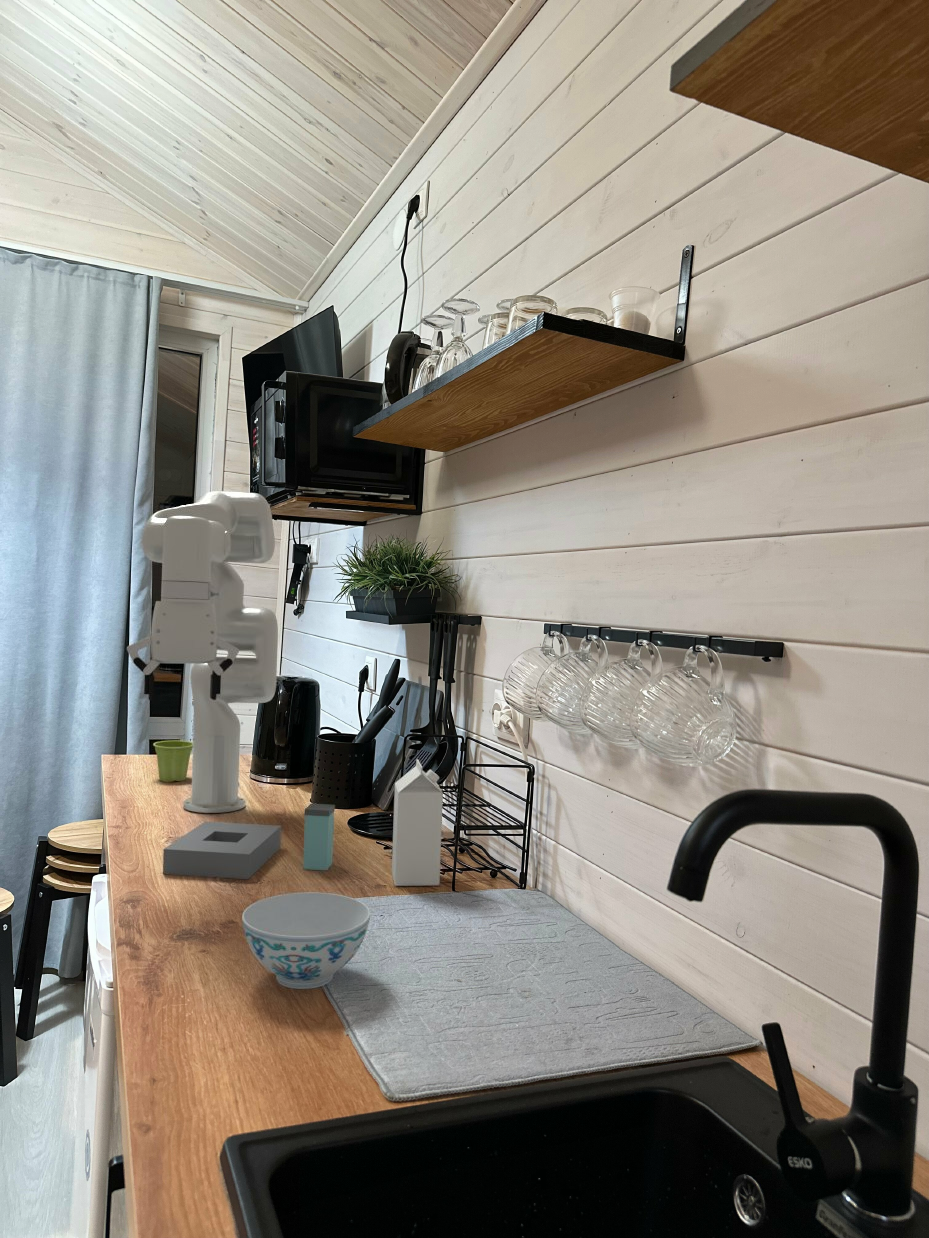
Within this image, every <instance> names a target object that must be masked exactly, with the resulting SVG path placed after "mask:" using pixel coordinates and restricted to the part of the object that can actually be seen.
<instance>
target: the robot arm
mask: <svg viewBox="0 0 929 1238" xmlns="http://www.w3.org/2000/svg"><path fill="white" fill-rule="evenodd" d="M274 531H275V530H274V523H273V516H272V510H271V507H270V505H269V503H268V501H267V499H266V498H265V497H264V496H263V495H262V494H260V493H256V492H243V491H242V492H240V491H227V490H226V491H225V490H224V491H223V490H215V491H209V492H206V493H204V494H203V495H201V496H200V497H199V498H198V499H197V501H196V502H194V503H191V504H186V505H180V506H176V507H171V508H166V509H162V510H158V511H156V512H155V513H153V514H152V515H151V516H150V517H149V518H148V520H147V521H146V523H145V524H144V527H143V529H142V533H141V547H142V551H143V554H144V555H145V556H146V558H147V559H148V560H150V561H151V562H154V563H161V564H162V565H161V566H162V567H161V587H160V588H161V589H160V590H161V591H160V593H161V594H160V597H161V598H160V600H156V601H155V604H154V608H153V614H152V619H151V620H152V622H151V632H150V636H148V637H144V638H143V639H141V640H138V641H136V642H134V643H131V644H130V645H128V646H127V647H126V650H127V653H128V654H129V657H130V659H131V660H132V663H133V664H134V665H135V666H136V667H137V668H138V669H139V670H140V671H141V672H142V673H143V674H144V681H143V682H144V684H143V685H144V689H143V691H144V692H143V695H148V697H147V698H148V700H149V701H153V700H154V698H155V675H154V671H155V669H156V668H157V667H159V665H160V664H189V665H190V664H193V665H192V667H191V669H190V688H191V694H192V695H191V696H192V702H193V705H192V706H193V733H192V734H193V735H192V742H193V748H192V765H191V766H192V768H191V769H192V770H191V797H190V798H189V797H188V798H187V799H185V800H184V801H183V805H182V807H183V808H184V810H186V811H190V812H192V813H193V812H194V813H202V814H219V813H220V814H221V813H222V814H223V813H229V812H235V811H238V810H241V809H244V808H245V807H246V799H245V798H243V797H241V796H239V788H240V785H241V784H240V782H239V778H240V776H239V775H240V774H239V773H240V748H241V747H240V746H241V743H240V742H241V723H240V719H239V717H238V716H237V714H236V713H235V712H234V710H233V709H232V707H230V705H229V704H236V703H238V704H239V703H240V704H264V703H268V702H270V701H272V700H273V698H274V696H275V693H276V690H277V689H276V688H277V677H278V675H277V673H278V671H277V669H278V649H279V648H278V647H279V646H278V642H279V641H278V640H279V625H278V620H277V616H276V614H275V612H274V611H273V610H271V609H270V608H267V607H263V606H261V607H260V606H245V604H244V596H245V593H244V592H245V584H244V581H243V579H242V578H241V576H240V575H239V574H238V572H237V570H236V569H235V568H234V567H233V566H232V565H231V564H230V563H240V564H243V563H244V564H264V563H268V562H269V561H270V560H271V559H272V558H273V556H274V553H275V547H276V546H275V545H276V537H275V532H274ZM148 646H150V647H149V648H150V649H149V650H150V653H149V654H150V657H151V659H149V661H148V662H147V663H146V662H145V661H144V660H143V659H142V658H141V657H140V655H139V653H138V652H139V651H140V650H142V649H144V648H146V647H148ZM218 651H226V652H227V655H226V656H217V654H218V653H217V652H218ZM239 652H249V653H253V654H254V655H255V657H237V656H238V654H239Z"/></svg>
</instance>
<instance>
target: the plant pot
mask: <svg viewBox="0 0 929 1238" xmlns="http://www.w3.org/2000/svg"><path fill="white" fill-rule="evenodd" d="M152 745H153V747H154V749H155V753H156V759H157V760H156V761H157V769H158V770H157V771H158V779H159V780H160V781H161V782H165V783H167V782H168V783H172V782H176V781H177V782H183V781H185V780H186V779H187V776H188V775H187V774H188V771H189V770H188V769H189V765H190V764H189V763H190V757H191V753H193V741H190V740H189V741H188V740H161V741H156V742H153V744H152Z"/></svg>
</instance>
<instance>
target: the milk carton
mask: <svg viewBox="0 0 929 1238" xmlns="http://www.w3.org/2000/svg"><path fill="white" fill-rule="evenodd" d="M415 761H416V762H415V763H416V764H415V766H414V767H413V768H411V769H410V770H408V772H407V773H406V774H404V775H403V776H402V777H400V779H398V780H397V781H395V783H394V799H393V822H392V823H393V826H392V828H393V829H392V831H393V832H392V854H391V858H392V860H391V875H392V879H393V883H394V886H395V887H402V886H404V887H409V886H411V887H412V886H414V887H415V886H423V887H424V886H440V882H441V881H440V878H441V877H440V876H441V850H442V849H441V848H442V847H441V846H442V827H443V826H442V824H443V822H442V821H443V820H442V819H443V801H444V800H443V799H444V797H443V795H444V794H443V790H442V788H440V785H438V783H437V782H438V781H439V780H440V776H439V775H438V774H437V773H435V771H433V770H432V769H429V770H427V772H425V771H424V770H423V766H422V764H421V761H420V760H419V758H417V759H415Z"/></svg>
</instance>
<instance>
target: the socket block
mask: <svg viewBox="0 0 929 1238" xmlns="http://www.w3.org/2000/svg"><path fill="white" fill-rule="evenodd" d="M281 838H282V825H271V824H267V825H266V824H254V823H253V824H252V823H250V824H249V823H239V822H236V823H235V822H220V821H218V822H217V821H203V822H202V823H200V824H199V825H197V826H195V828H193V829H191V830H190V831H188V832H187V833H186V834H184V835H182V836H181V837H180V838H177V840H175V841H174V842H172V843H170V844H169V845H167V846H166V847H164V848H163V852H162V853H163V855H162V857H163V859H162V863H163V864H162V874H164V875H174V876H188V877H189V876H191V877H207V878H208V877H209V878H220V879H221V878H223V879H236V880H238V879H239V880H249V879H250V878H252V876H253V875H254V874H256V872H258V871H259V870H260V869H261V868H262V867H263V866H264V865H265V864H266V863H267V862H268V861H269V860H270V859H271V858H272V857H273V856H274V855H275V854H276V853H277V852H278V851H279V850H280V849H281V844H282V839H281Z"/></svg>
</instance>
